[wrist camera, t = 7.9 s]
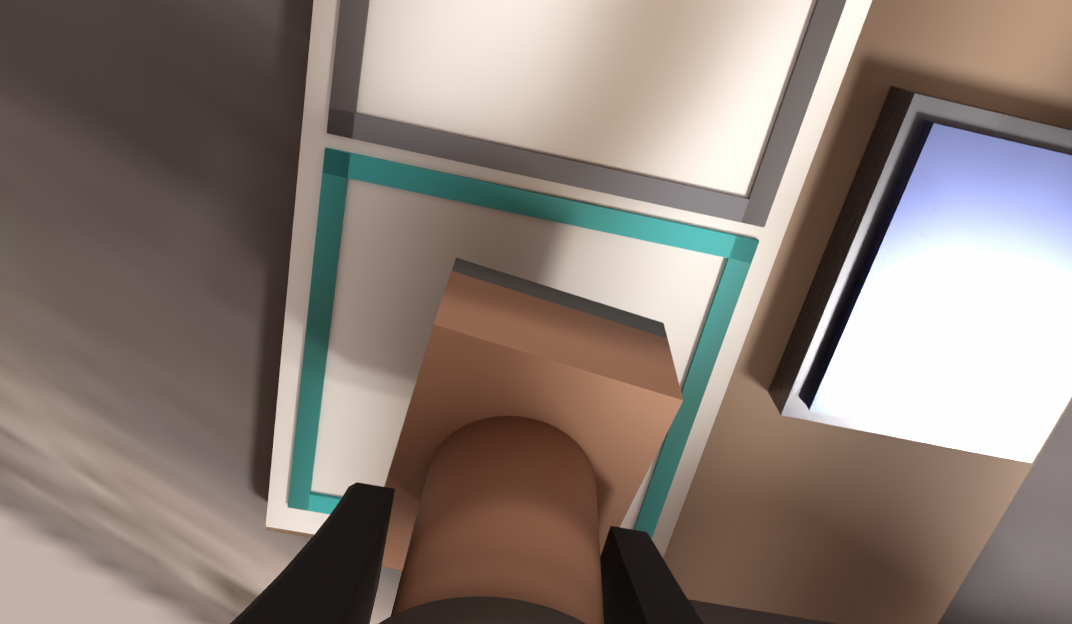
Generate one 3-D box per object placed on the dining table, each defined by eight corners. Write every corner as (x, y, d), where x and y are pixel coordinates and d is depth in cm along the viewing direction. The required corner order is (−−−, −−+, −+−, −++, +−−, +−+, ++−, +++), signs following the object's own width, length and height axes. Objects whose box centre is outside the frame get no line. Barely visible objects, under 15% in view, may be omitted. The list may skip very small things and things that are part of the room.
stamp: (456, 257, 14) (345, 584, 7) (664, 323, 14) (756, 690, 7) (391, 468, 16) (259, 874, 9) (572, 518, 16) (579, 943, 9)
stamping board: (1389, -205, 13) (1452, -217, 12) (915, 616, 21) (932, 644, 21) (374, -507, 12) (361, -546, 11) (276, 509, 20) (263, 535, 19)
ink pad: (1169, 151, 15) (1223, 167, 14) (1006, 437, 18) (1039, 470, 17) (890, 85, 15) (922, 95, 13) (767, 392, 17) (785, 422, 16)
